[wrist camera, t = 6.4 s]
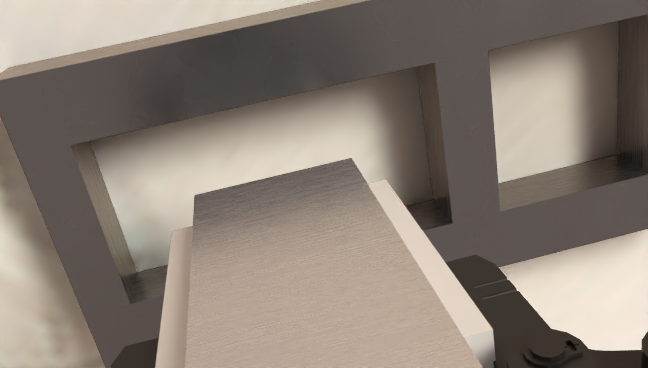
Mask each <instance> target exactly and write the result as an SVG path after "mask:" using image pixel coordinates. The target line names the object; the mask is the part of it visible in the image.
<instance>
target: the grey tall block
mask: <svg viewBox="0 0 648 368" xmlns="http://www.w3.org/2000/svg"><path fill="white" fill-rule="evenodd" d="M185 368H483V367H482V365H481V364H480V362H479V361H478V359H477V358H476V356H475V354H474V353H473V351H472V350H471V348H470V346H469V345H468V343H467V342H466V340H465V338H464V337H463V335H462V334H461V332H460V330H459V329H458V327H457V326H456V324H455V322H454V321H453V319H452V318H451V316H450V314H449V313H448V311H447V310H446V308H445V307H444V305H443V303H442V302H441V300H440V299H439V297H438V295H437V294H436V292H435V291H434V289H433V287H432V286H431V284H430V283H429V281H428V279H427V278H426V276H425V275H424V273H423V271H422V270H421V268H420V267H419V265H418V264H417V262H416V260H415V259H414V257H413V256H412V254H411V252H410V251H409V249H408V248H407V246H406V244H405V243H404V241H403V240H402V238H401V236H400V235H399V233H398V232H397V230H396V228H395V227H394V225H393V224H392V222H391V220H390V219H389V217H388V216H387V214H386V213H385V211H384V209H383V208H382V206H381V205H380V203H379V201H378V200H377V198H376V197H375V195H374V193H373V192H372V190H371V189H370V187H369V185H368V184H367V182H366V181H365V179H364V177H363V176H362V174H361V173H360V171H359V170H358V168H357V166H356V165H355V163H354V162H353V160H352V158H350V159H345V160H341V161H337V162H333V163H329V164H324V165H320V166H316V167H312V168H308V169H303V170H299V171H295V172H291V173H287V174H282V175H278V176H274V177H270V178H265V179H261V180H257V181H253V182H249V183H244V184H240V185H236V186H232V187H228V188H223V189H219V190H215V191H211V192H207V193H202V194H198V195H195V197H194V215H193V233H192V251H191V269H190V288H189V306H188V324H187V342H186V360H185Z"/></svg>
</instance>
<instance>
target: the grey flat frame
mask: <svg viewBox="0 0 648 368" xmlns="http://www.w3.org/2000/svg"><path fill="white" fill-rule="evenodd" d="M615 21H619V75H618V152H617V155H613V156H609V157H605V158H601V159H597V160H593V161H589V162H585V163H581V164H577V165H573V166H568V167H564V168H560V169H556V170H552V171H548V172H544V173H540V174H536V175H532V176H528V177H524V178H520V179H516V180H512V181H507V182H503V183H499V184H498V176H497V162H496V149H495V135H494V122H493V108H492V95H491V81H490V68H489V54H488V50H492V49H496V48H501V47H505V46H509V45H514V44H518V43H523V42H527V41H531V40H536V39H540V38H545V37H549V36H553V35H558V34H562V33H567V32H571V31H575V30H580V29H584V28H589V27H593V26H598V25H602V24H606V23H611V22H615ZM412 67H417V71H418V79H419V87H420V95H421V103H422V111H423V119H424V127H425V136H426V144H427V152H428V160H429V168H430V176H431V184H432V193H433V200H430V201H426V202H422V203H418V204H414V205H410V206H406V208H407V210H408V211H409V212H410V214H411V215H412V217H413V218H414V219H415V221H416V222H417V224H418V225H419V226H420V228H421V229H422V231H423V232H424V233H425V235H426V236H427V238H428V239H429V240H430V242H431V243H432V245H433V246H434V247H435V249H436V250H437V252H438V253H439V254H440V256H441V257H442V259H443V260H444V261H445V262H449V261H453V260H456V259H460V258H464V257H468V256H472V255H478V256H480V257H482V258H484V259H486V260H488V261H490V262H492V263H494V264H496V266H497V267H501V266H505V265H509V264H513V263H517V262H521V261H525V260H529V259H532V258H536V257H540V256H544V255H548V254H552V253H556V252H560V251H563V250H567V249H571V248H575V247H579V246H583V245H587V244H591V243H595V242H598V241H602V240H606V239H610V238H614V237H618V236H622V235H626V234H629V233H633V232H637V231H641V230H645V229H648V0H322V1H317V2H312V3H308V4H303V5H298V6H294V7H289V8H284V9H280V10H275V11H270V12H266V13H261V14H256V15H252V16H247V17H243V18H238V19H233V20H229V21H224V22H219V23H215V24H210V25H205V26H201V27H196V28H191V29H187V30H182V31H177V32H173V33H168V34H163V35H159V36H154V37H149V38H145V39H140V40H135V41H131V42H126V43H122V44H117V45H112V46H108V47H103V48H98V49H94V50H89V51H84V52H80V53H75V54H70V55H66V56H61V57H56V58H52V59H47V60H42V61H38V62H33V63H28V64H24V65H19V66H14V67H10V68H8V69H6V70H5V71H3V72H2V73H1V74H0V115H1V118H2V120H3V123H4V125H5V127H6V130H7V132H8V135H9V137H10V139H11V142H12V144H13V147H14V149H15V151H16V154H17V156H18V158H19V161H20V163H21V166H22V168H23V170H24V173H25V175H26V178H27V180H28V182H29V185H30V187H31V190H32V192H33V194H34V197H35V199H36V202H37V204H38V206H39V209H40V211H41V214H42V216H43V218H44V221H45V223H46V226H47V228H48V230H49V233H50V235H51V238H52V240H53V242H54V245H55V247H56V249H57V252H58V254H59V257H60V259H61V261H62V264H63V266H64V269H65V271H66V273H67V276H68V278H69V281H70V283H71V285H72V288H73V290H74V293H75V295H76V297H77V300H78V302H79V305H80V307H81V309H82V312H83V314H84V317H85V319H86V321H87V324H88V326H89V328H90V331H91V333H92V336H93V338H94V340H95V343H96V345H97V348H98V350H99V352H100V355H101V357H102V360H103V362H104V364H105V367H106V368H110V367H111V365H112V363H113V362H114V360H115V359H116V358H117V356H118V355H119V354H120V352H121V351H122V350H123V348H124V347H125V346H128V345H132V344H136V343H140V342H144V341H148V340H151V339H155V338H159V333H160V325H161V317H162V309H163V301H164V293H165V285H166V277H167V269H168V265H166V266H162V267H158V268H154V269H150V270H146V271H142V272H138V273H137V271H136V269H135V266H134V263H133V260H132V258H131V255H130V252H129V249H128V247H127V244H126V241H125V238H124V236H123V233H122V230H121V227H120V225H119V222H118V219H117V216H116V213H115V211H114V208H113V205H112V202H111V200H110V197H109V194H108V191H107V189H106V186H105V183H104V180H103V178H102V175H101V172H100V169H99V167H98V164H97V161H96V158H95V155H94V153H93V150H92V147H91V144H90V142H89V141H91V140H95V139H99V138H104V137H108V136H113V135H117V134H122V133H126V132H130V131H135V130H139V129H144V128H148V127H152V126H157V125H161V124H166V123H170V122H174V121H179V120H183V119H188V118H192V117H196V116H201V115H205V114H210V113H214V112H218V111H223V110H227V109H232V108H236V107H241V106H245V105H249V104H254V103H258V102H263V101H267V100H271V99H276V98H280V97H285V96H289V95H293V94H298V93H302V92H307V91H311V90H315V89H320V88H324V87H329V86H333V85H337V84H342V83H346V82H351V81H355V80H360V79H364V78H368V77H373V76H377V75H382V74H386V73H390V72H395V71H399V70H404V69H408V68H412Z"/></svg>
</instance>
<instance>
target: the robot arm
mask: <svg viewBox="0 0 648 368" xmlns="http://www.w3.org/2000/svg"><path fill="white" fill-rule="evenodd" d="M368 185H369V187H370V189H371V190H372V192H373V193H374V195H375V197H376V198H377V200H378V201H379V203H380V205H381V206H382V208H383V209H384V211H385V213H386V214H387V216H388V217H389V219H390V220H391V222H392V224H393V225H394V227H395V228H396V230H397V232H398V233H399V235H400V236H401V238H402V240H403V241H404V243H405V244H406V246H407V248H408V249H409V251H410V252H411V254H412V256H413V257H414V259H415V260H416V262H417V264H418V265H419V267H420V268H421V270H422V271H423V273H424V275H425V276H426V278H427V279H428V281H429V283H430V284H431V286H432V287H433V289H434V291H435V292H436V294H437V295H438V297H439V299H440V300H441V302H442V303H443V305H444V307H445V308H446V310H447V311H448V313H449V314H450V316H451V318H452V319H453V321H454V322H455V324H456V326H457V327H458V329H459V330H460V332H461V334H462V335H463V337H464V338H465V340H466V342H467V343H468V345H469V346H470V348H471V350H472V351H473V353H474V354H475V356H476V358H477V359H478V361H479V362H480V364H481V365H482V367H483V368H648V332H647V333H646V335H645V336H644V338H643V339H642V350H628V351H598V350H591V349H588V348H587V347H586V346H585V344H584V343H583V342H582V341H581V340H580V339H578V338H576V337H574V336H573V335H571V334H569V333H567V332H562V331H558V330H554V329H551V328H550V327H549V326H548V325H547V324H546V322H545V321H544V320H543V319H542V318H541V317H540V315H539V314H538V313H537V312H536V311H535V310H534V308H533V307H532V306H531V305H530V304H529V303H528V301H527V300H526V299H525V298H524V297H523V296H522V295H521V293H520V292H519V291H517V290H516V288H515V286H514V285H513V284H512V283H511V282H510V281H509V280H507V277H506V276H505V275H504V274H503V272H502V271H501V270H500V269H499V268H498V267H497V266H496V264H494V263H492V262H490V261H488V260H486V259H484V258H482V257H480V256H478V255H472V256H468V257H464V258H460V259H456V260H453V261H449V262H445V261H444V260H443V259H442V257H441V256H440V254H439V253H438V252H437V250H436V249H435V247H434V246H433V245H432V243H431V242H430V240H429V239H428V238H427V236H426V235H425V233H424V232H423V231H422V229H421V228H420V226H419V225H418V224H417V222H416V221H415V219H414V218H413V217H412V215H411V214H410V212H409V211H408V210H407V208H406V207H405V205H404V204H403V203H402V201H401V200H400V198H399V197H398V196H397V194H396V193H395V191H394V190H393V189H392V187H391V186H390V184H389V183H388V182H387V180H386V179H385V180H381V181H377V182H373V183H369V184H368ZM192 233H193V226H191V227H187V228H183V229H179V230H175V231H172V237H171V245H170V253H169V261H168V269H167V277H166V285H165V293H164V301H163V309H162V317H161V325H160V333H159V338H155V339H151V340H148V341H144V342H140V343H136V344H132V345H128V346H125V347H124V348H123V350H122V351H121V352H120V354H119V355H118V356H117V358H116V359H115V360H114V362H113V363H112V365H111V368H185V360H186V342H187V324H188V306H189V288H190V269H191V251H192Z"/></svg>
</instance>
